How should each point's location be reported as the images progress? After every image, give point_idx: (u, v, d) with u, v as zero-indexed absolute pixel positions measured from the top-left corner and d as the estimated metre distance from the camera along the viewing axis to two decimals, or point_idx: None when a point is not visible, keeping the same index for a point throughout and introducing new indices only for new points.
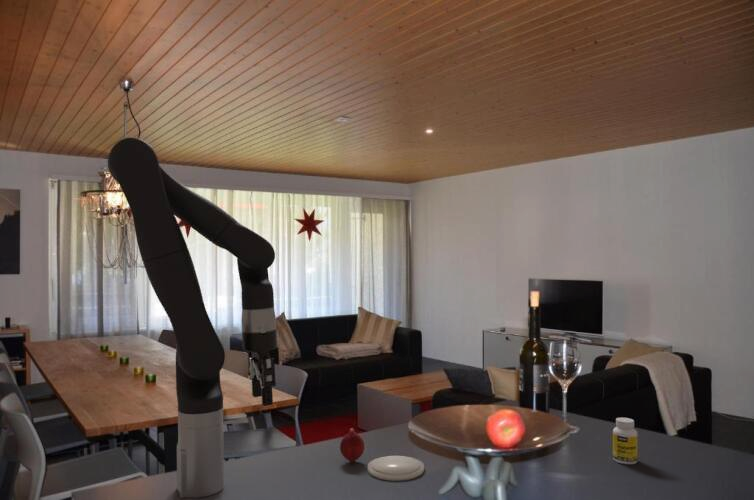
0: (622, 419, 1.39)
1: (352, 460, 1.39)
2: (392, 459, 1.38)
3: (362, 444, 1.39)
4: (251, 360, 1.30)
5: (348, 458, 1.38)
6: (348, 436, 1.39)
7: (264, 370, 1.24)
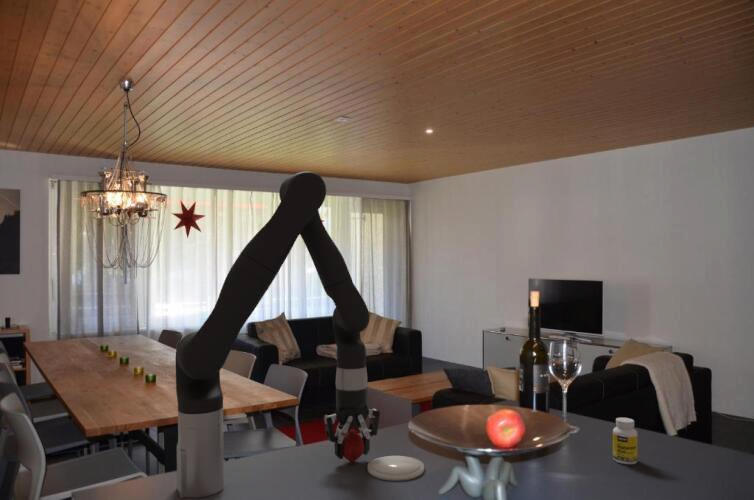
0: (622, 419, 1.39)
1: (352, 460, 1.39)
2: (392, 459, 1.38)
3: (362, 444, 1.39)
4: (352, 416, 1.38)
5: (348, 458, 1.38)
6: (348, 436, 1.39)
7: None
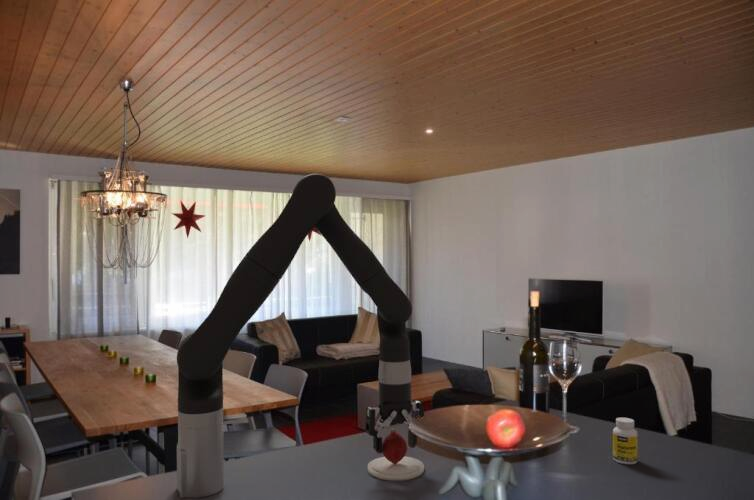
0: (622, 419, 1.39)
1: (395, 462, 1.33)
2: None
3: (405, 445, 1.34)
4: (396, 412, 1.33)
5: (391, 460, 1.33)
6: (390, 437, 1.33)
7: None
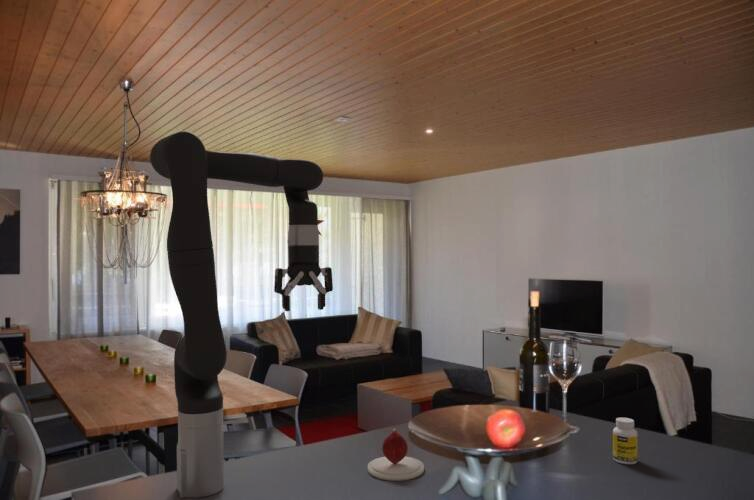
0: (622, 419, 1.39)
1: (395, 462, 1.34)
2: None
3: (406, 445, 1.34)
4: (303, 273, 1.41)
5: (391, 460, 1.33)
6: (392, 437, 1.34)
7: (331, 276, 1.45)
